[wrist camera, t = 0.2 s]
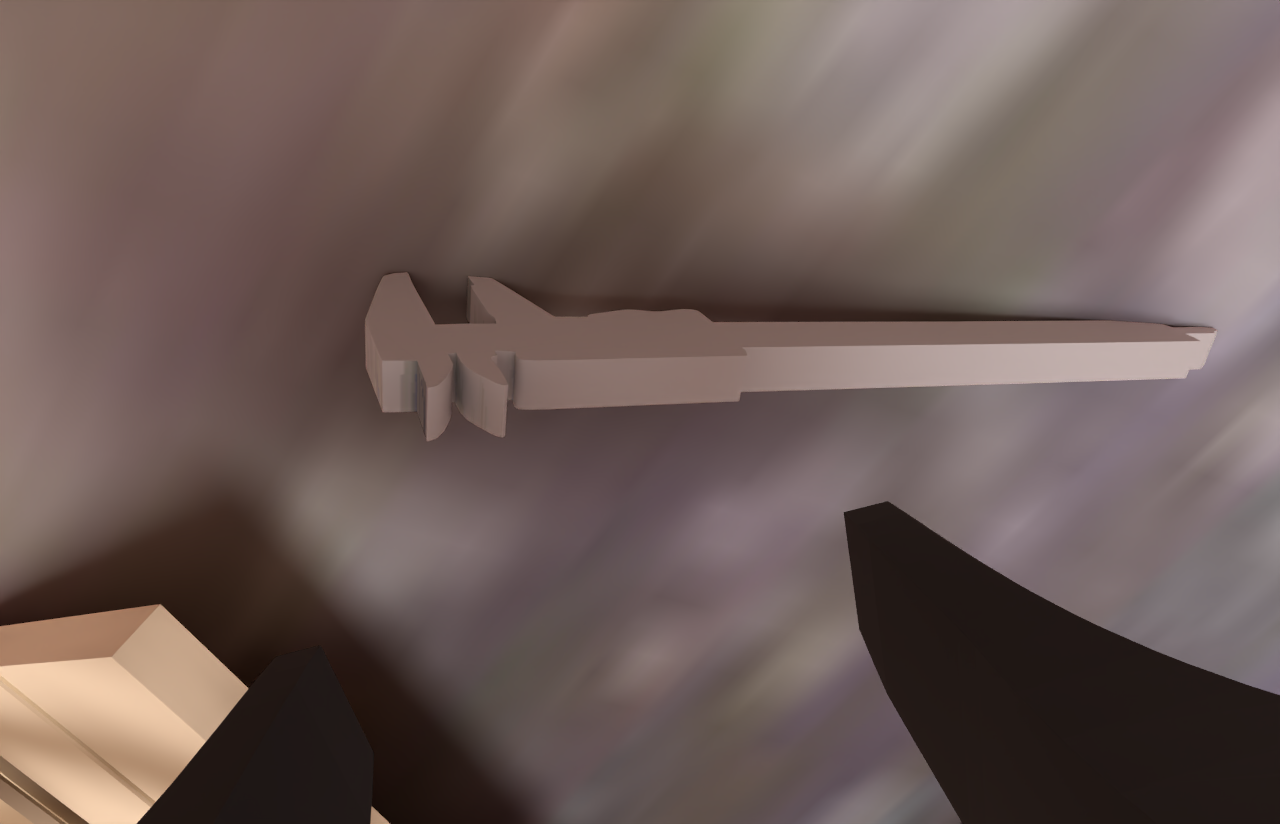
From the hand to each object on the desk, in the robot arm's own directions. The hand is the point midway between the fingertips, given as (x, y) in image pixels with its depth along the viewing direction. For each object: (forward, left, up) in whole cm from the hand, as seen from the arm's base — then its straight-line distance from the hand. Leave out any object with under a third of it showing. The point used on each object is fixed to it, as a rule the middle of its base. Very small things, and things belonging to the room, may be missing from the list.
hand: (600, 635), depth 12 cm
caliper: (-2, -6, -10) cm, 12 cm away
